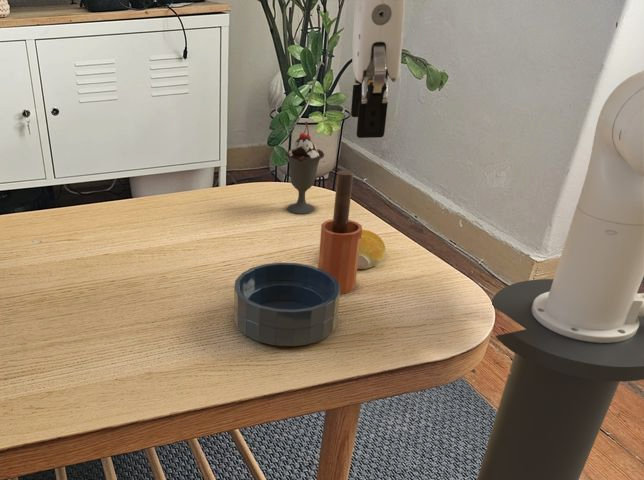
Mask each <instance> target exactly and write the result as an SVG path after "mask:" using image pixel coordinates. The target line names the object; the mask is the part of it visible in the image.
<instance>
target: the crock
mask: <svg viewBox="0 0 644 480" xmlns="http://www.w3.org/2000/svg"><path fill="white" fill-rule="evenodd" d="M332 226H333V218H332V219H329V220H326V221H325V220H324V221H323V222H322V223H321V224H320V236H319V246H318V247H319V248H318V256H317V257H318V258H317V268H319V269H322V270H324V271H326V272H328V273H329V274H331V275H332V276H334V278H335V279H336V280H337V281H338V283H339V285H340V295H343V294H347V293H351V292H353V290H354V289H355V287H356V282H357V275H358V269H357V267H358V259H359V251H360V243H361V235H362V230H363V225H362V224H361V223H359V222H357V221H355V220H352V219H348V227H347V233H334V232H332Z"/></svg>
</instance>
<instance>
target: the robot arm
mask: <svg viewBox="0 0 644 480" xmlns="http://www.w3.org/2000/svg"><path fill="white" fill-rule="evenodd" d="M405 15H406V0H354V12H353V23H352V24H353V26H352V48H351V49H352V50H351V53H352V54H351V58H352V59H351V60H352V61H351V64H352V65H351V66H352V72H353V74H354V84H352V96H351V107H350V108H351V109H350V115H351V117H352V118H357V123H356V124H357V125H356V137H357V138H358V139H373V138H378V139H379V138H383V137H384V136H385V131H386V123H387V112H388V79H390V80H391V82H392V83H396V82H397V81H399V79H400V75H401V66H402V65H401V63H402V53H403V40H404V28H405ZM553 279H554V280H553V283H552V286H551V289H550V292H546V293H543V294H541V295H539V296H538V297H536V298H535V300H534V302H533V305H532V314H533V316H534V317H535V318H536V320H537V321H538V322H539V323H541V324H542V325H543V326H544V327H546V328H548V329H550V330H551V331H553V332H556V333H558V334H560V335H563V336H566V337H569V338H572V339H576V340H581V341H586V342H594V343H614V342H620V341H624V340H627V339H629V338H631V337H633V336H634V335H635V334H636V332H637V329H638V327H639V319H638V317H643V316H644V292H641V293H638V292H639V290H640V286H641V284H642V281H643V279H644V70H641V71H639V72H637V73H635V74H632V75H630V76H629V77H628V78H626V79H624V80H623V81H622V82H620V84H618V85H617V86H616V87H615V88H614V89H613V90H612V91H611V93H610V94H609V96H608V97H607V99H606V100H605V102H604V103H603V105H602V107H601V110H600V113H599V115H598V118H597V122H596V126H595V130H594V136H593V142H592V147H591V152H590V158H589V162H588V166H587V171H586V174H585V178H584V182H583V185H582V187H581V192H580V195H579V198H578V201H577V205H576V206H575V210H574V213H573V217H572V219H571V223H570V225H569V229H568V232H567V235H566V239H565V242H564V244H563V248H562V251H561V255H560V258H559V261H558V264H557V267H556V269H555V273H554V276H553Z"/></svg>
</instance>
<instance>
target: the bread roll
mask: <svg viewBox="0 0 644 480" xmlns="http://www.w3.org/2000/svg"><path fill="white" fill-rule="evenodd" d="M385 252H386V244H385V243H384V240H383V239H382V238H381V237H380V236H379V235H378V234H377V233H375V232H373V231H371V230H368V229H362V235H361V243H360V251H359V259H358V267H357V270H366V269H370V268H373V267H376V266H377V265H379V263H380V262H381V261H382V260H383V258H384V254H385Z"/></svg>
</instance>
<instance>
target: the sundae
mask: <svg viewBox="0 0 644 480" xmlns="http://www.w3.org/2000/svg"><path fill="white" fill-rule="evenodd" d="M304 124H305V129H304V130H303V133H299V138H298V139H296V140H295V141H294V143H293V145H292V148H291V149H289V150H287V151H286V152H285V154H284V156H285V157H287V159H288V165H289V176H290V183H291V185H292V186H293V187H294V189H296V190H297V191H298V196H297V201H296V203H292V204H289V205H288V206H287V207H286V209H287V211H288V212H290V213H292V214H296V215H307V214H311V213H313V212H314V211H315V210H316V208H315V205H312V204H310V203H307V201H306V192H307V191H308V190H309V189H311V188H312V187H313V186H314V184H315V181H316V177H317V173H318V168H319V163H320V160H321V159H323V158H324V157H325V153H324V152H323V150H321V149H320V148H317V146H316V144H315V143H314V142H313V140H312V139H311V138H312V137H311V135H310V133H309V127H308V121H305V122H304ZM306 131H307V134H306Z"/></svg>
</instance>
